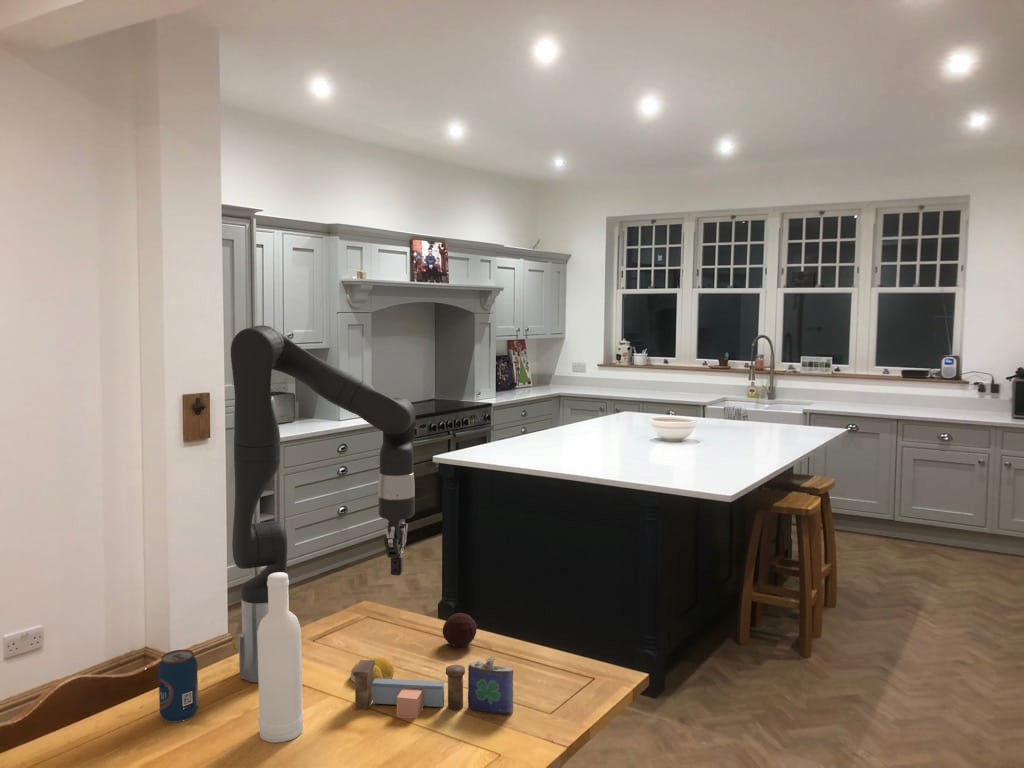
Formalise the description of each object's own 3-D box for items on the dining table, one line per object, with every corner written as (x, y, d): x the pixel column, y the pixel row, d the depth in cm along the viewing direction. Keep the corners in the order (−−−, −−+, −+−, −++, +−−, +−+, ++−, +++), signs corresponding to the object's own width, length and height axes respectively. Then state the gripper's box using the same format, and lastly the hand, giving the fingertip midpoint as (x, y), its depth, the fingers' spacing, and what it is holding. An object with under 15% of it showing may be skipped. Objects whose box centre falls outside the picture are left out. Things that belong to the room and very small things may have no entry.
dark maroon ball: (475, 637, 196) (475, 606, 195) (478, 652, 186) (478, 620, 186) (441, 638, 194) (441, 607, 194) (443, 654, 185) (443, 622, 185)
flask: (514, 710, 159) (514, 657, 158) (510, 717, 156) (510, 663, 155) (470, 704, 162) (469, 652, 161) (465, 711, 159) (465, 658, 158)
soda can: (153, 716, 156) (151, 656, 155) (187, 703, 162) (185, 645, 161) (170, 728, 152) (168, 666, 151) (205, 714, 157) (203, 654, 156)
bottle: (310, 723, 154) (307, 569, 151) (292, 745, 146) (288, 583, 143) (271, 720, 155) (267, 567, 152) (251, 741, 147) (246, 580, 145)
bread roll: (401, 677, 174) (401, 659, 174) (367, 691, 168) (367, 672, 167) (377, 665, 180) (377, 648, 179) (344, 678, 173) (343, 660, 173)
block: (416, 719, 156) (416, 699, 155) (397, 717, 156) (396, 697, 156) (422, 709, 160) (422, 689, 159) (403, 707, 160) (403, 687, 160)
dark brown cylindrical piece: (444, 711, 159) (444, 672, 158) (447, 702, 162) (447, 664, 162) (463, 711, 158) (463, 673, 158) (466, 702, 162) (466, 665, 161)
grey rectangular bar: (445, 702, 162) (444, 681, 161) (443, 707, 159) (442, 686, 159) (375, 699, 163) (375, 678, 163) (372, 704, 161) (372, 683, 160)
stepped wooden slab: (353, 710, 159) (353, 672, 158) (360, 697, 164) (360, 659, 164) (368, 710, 159) (368, 672, 158) (375, 697, 164) (374, 660, 164)
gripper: (408, 501, 162) (408, 585, 164) (420, 487, 175) (419, 564, 177) (371, 500, 163) (371, 584, 164) (385, 486, 176) (386, 563, 178)
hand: (396, 574), depth 171 cm, fingers closed
